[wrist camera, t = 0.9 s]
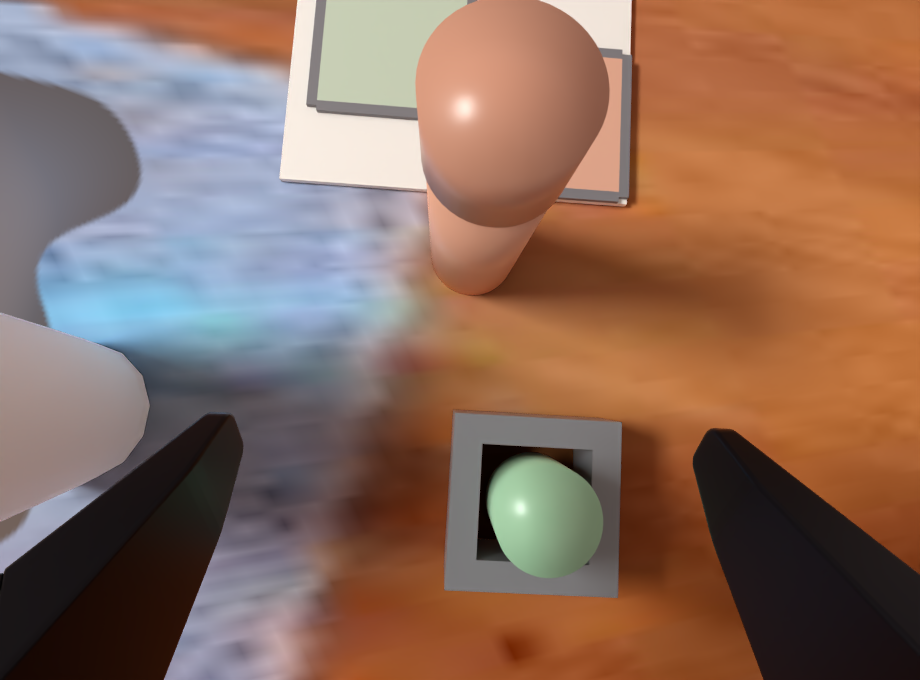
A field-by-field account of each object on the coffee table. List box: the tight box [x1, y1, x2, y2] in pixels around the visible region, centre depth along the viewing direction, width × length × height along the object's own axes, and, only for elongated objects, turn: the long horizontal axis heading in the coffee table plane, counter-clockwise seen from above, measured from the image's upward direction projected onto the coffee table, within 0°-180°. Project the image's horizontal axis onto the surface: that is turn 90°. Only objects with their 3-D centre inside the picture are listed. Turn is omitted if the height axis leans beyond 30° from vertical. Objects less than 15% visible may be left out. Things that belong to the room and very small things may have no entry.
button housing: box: [444, 410, 622, 598], centre depth 21 cm, size 7×7×3 cm
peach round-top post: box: [415, 0, 610, 295], centre depth 17 cm, size 4×4×13 cm
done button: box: [485, 452, 603, 578], centre depth 19 cm, size 4×4×4 cm
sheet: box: [279, 0, 632, 207], centre depth 24 cm, size 12×17×1 cm
